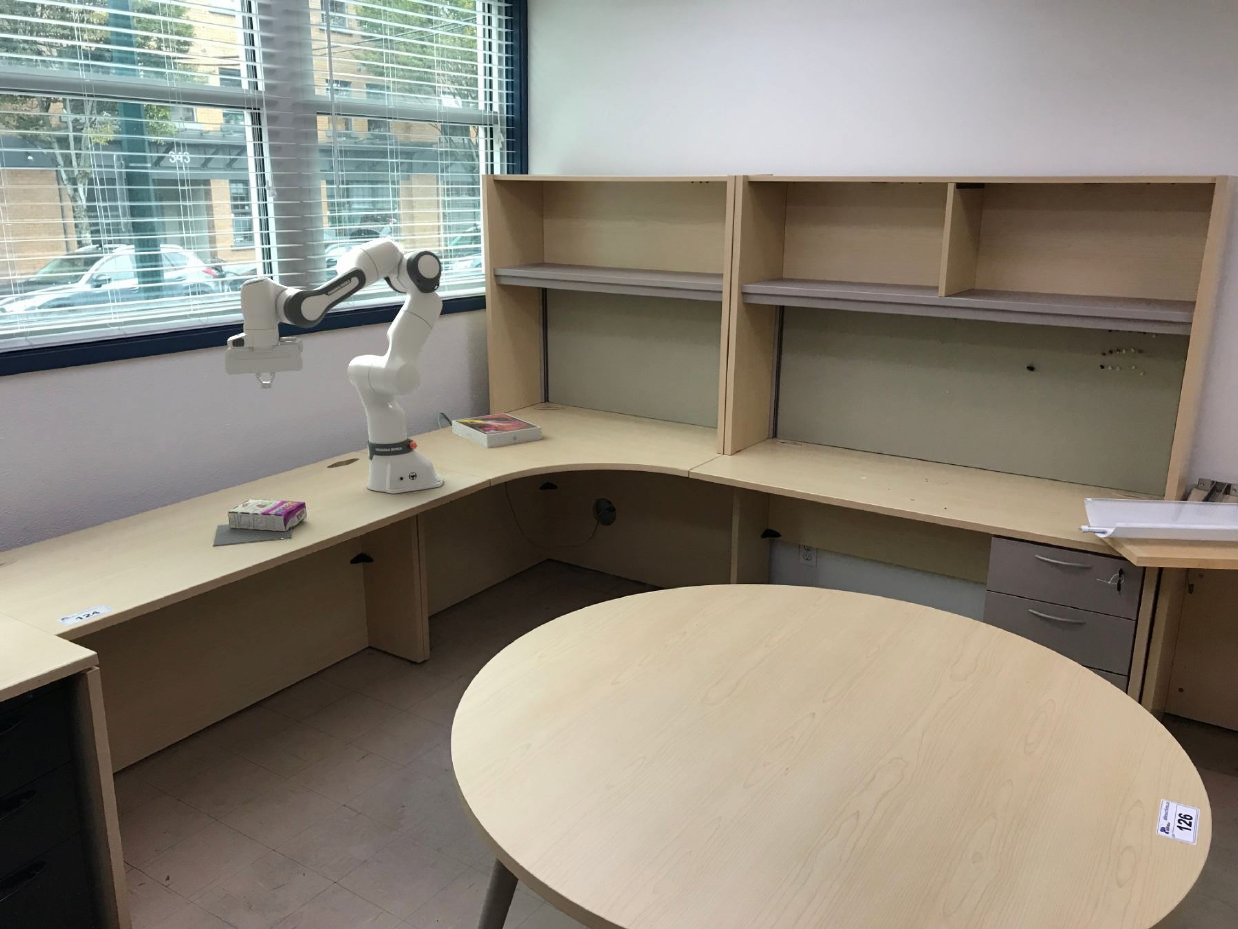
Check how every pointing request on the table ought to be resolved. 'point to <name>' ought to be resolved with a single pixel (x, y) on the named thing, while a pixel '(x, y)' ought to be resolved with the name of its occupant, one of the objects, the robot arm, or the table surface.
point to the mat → (245, 535)
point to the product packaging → (496, 430)
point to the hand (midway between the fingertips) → (267, 388)
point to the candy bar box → (267, 515)
